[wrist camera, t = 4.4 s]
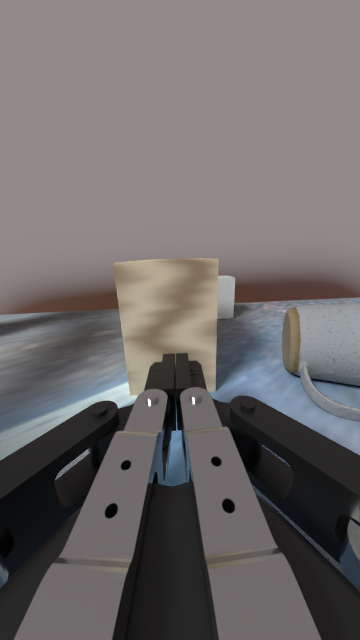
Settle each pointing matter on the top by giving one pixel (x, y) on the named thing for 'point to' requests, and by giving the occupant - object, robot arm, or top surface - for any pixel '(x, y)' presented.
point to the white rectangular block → (225, 297)
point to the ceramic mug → (324, 350)
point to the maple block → (168, 314)
